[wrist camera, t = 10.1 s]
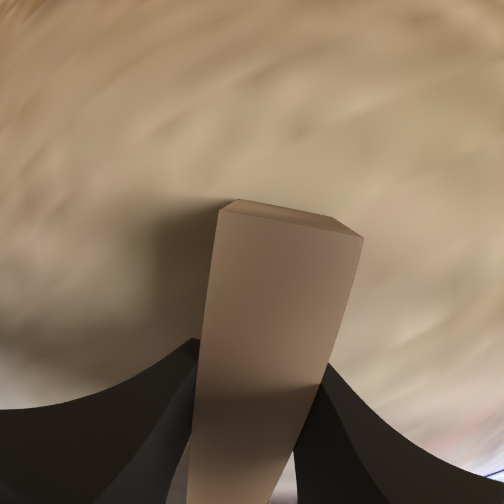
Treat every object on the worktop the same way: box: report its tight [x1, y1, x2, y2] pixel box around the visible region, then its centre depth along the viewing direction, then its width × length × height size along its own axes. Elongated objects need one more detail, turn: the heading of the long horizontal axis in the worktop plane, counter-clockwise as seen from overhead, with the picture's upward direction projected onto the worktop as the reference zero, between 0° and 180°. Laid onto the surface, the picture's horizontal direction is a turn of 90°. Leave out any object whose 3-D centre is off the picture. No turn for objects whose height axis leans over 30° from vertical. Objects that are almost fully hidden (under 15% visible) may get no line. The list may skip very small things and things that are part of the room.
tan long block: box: [186, 199, 364, 504], centre depth 10 cm, size 3×16×4 cm, turn 170°
